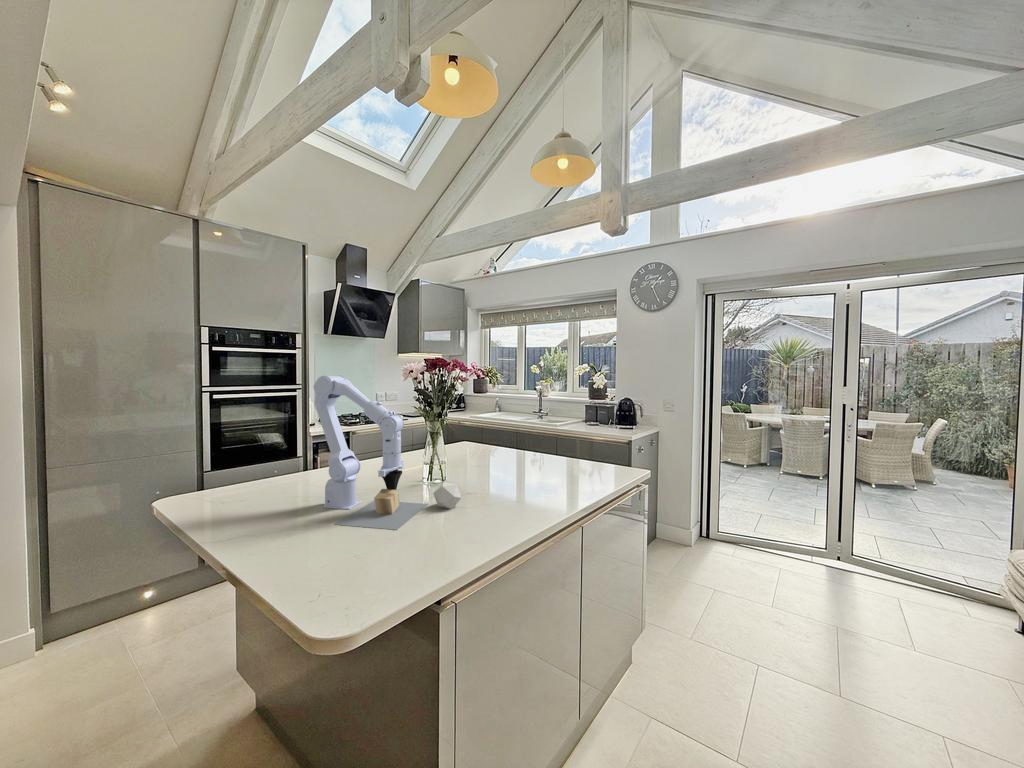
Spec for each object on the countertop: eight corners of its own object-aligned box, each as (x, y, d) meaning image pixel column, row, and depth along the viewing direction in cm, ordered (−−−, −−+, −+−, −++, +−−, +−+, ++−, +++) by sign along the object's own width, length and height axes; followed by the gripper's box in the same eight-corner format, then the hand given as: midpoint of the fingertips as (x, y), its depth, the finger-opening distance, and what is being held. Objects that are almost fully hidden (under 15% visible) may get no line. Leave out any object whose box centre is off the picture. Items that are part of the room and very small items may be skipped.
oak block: (384, 503, 140) (376, 513, 135) (382, 488, 139) (374, 497, 133) (399, 504, 139) (392, 514, 134) (397, 489, 138) (390, 499, 133)
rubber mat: (333, 525, 125) (333, 524, 125) (374, 500, 148) (374, 500, 148) (397, 530, 121) (397, 529, 121) (428, 504, 145) (428, 503, 145)
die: (465, 507, 144) (457, 481, 149) (460, 501, 137) (452, 474, 141) (442, 516, 144) (435, 490, 148) (436, 511, 136) (428, 483, 140)
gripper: (393, 457, 131) (393, 500, 132) (412, 448, 145) (412, 488, 146) (372, 456, 132) (372, 499, 133) (393, 447, 147) (393, 486, 147)
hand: (391, 493), depth 139 cm, fingers closed
